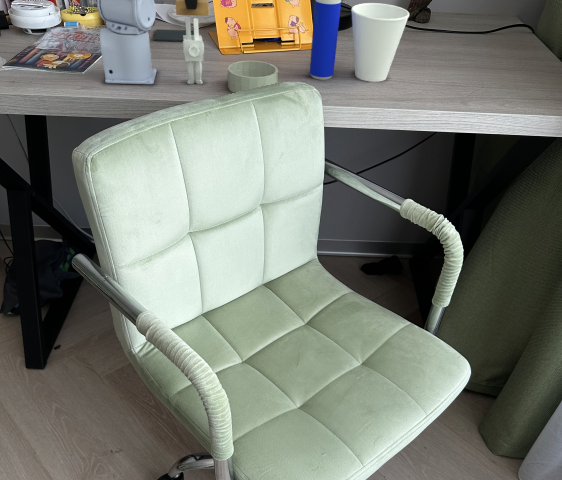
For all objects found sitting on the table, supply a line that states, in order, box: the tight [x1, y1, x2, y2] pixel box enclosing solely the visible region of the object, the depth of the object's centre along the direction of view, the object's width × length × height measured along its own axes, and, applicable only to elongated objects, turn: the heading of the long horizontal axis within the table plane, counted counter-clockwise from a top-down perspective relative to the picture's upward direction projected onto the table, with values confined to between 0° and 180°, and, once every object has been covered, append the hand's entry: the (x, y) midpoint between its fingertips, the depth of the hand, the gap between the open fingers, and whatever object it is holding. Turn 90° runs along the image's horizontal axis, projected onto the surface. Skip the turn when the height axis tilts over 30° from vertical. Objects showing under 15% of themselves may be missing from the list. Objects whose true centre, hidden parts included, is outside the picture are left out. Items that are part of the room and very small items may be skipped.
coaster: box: [153, 28, 194, 43], centre depth 138 cm, size 9×8×1 cm
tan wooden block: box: [175, 0, 210, 17], centre depth 126 cm, size 7×3×3 cm, turn 93°
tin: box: [227, 60, 279, 93], centre depth 116 cm, size 10×10×4 cm
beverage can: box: [309, 0, 342, 81], centre depth 118 cm, size 5×5×15 cm
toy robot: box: [182, 17, 205, 85], centre depth 113 cm, size 4×8×12 cm, turn 9°
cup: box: [350, 2, 410, 83], centre depth 121 cm, size 12×12×12 cm
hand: (192, 6), depth 126 cm, fingers closed on tan wooden block, 2 cm apart
